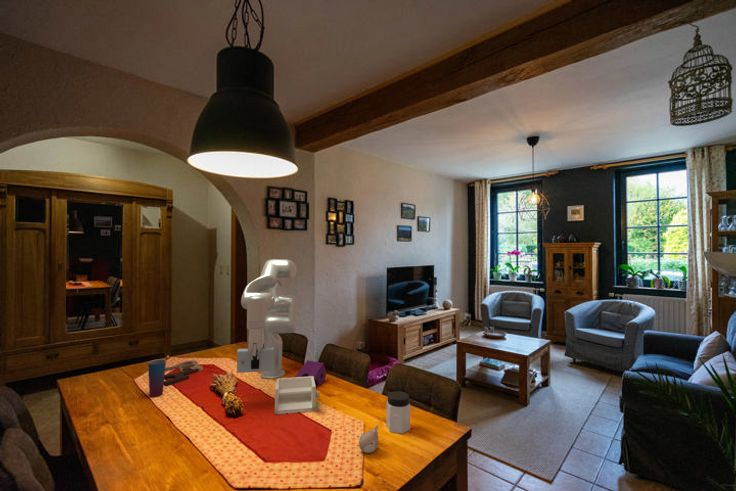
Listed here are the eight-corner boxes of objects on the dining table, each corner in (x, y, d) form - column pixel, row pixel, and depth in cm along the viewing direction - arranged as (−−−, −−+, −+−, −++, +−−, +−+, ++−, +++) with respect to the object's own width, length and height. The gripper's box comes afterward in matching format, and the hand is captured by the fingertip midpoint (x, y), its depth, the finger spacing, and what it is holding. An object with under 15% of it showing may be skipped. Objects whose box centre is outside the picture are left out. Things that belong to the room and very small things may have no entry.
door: (238, 370, 145) (238, 349, 145) (273, 367, 148) (273, 347, 148) (236, 373, 141) (236, 352, 141) (272, 371, 144) (273, 350, 144)
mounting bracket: (308, 405, 158) (327, 376, 173) (304, 391, 154) (323, 363, 170) (291, 401, 162) (311, 373, 177) (286, 387, 158) (307, 360, 174)
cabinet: (275, 401, 147) (276, 378, 147) (316, 398, 151) (317, 375, 151) (274, 416, 133) (275, 391, 134) (319, 412, 137) (320, 387, 138)
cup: (143, 396, 150) (144, 362, 150) (158, 391, 156) (159, 358, 157) (154, 399, 147) (155, 364, 148) (168, 393, 154) (169, 360, 154)
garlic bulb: (376, 457, 107) (377, 432, 108) (357, 455, 108) (357, 430, 109) (379, 446, 114) (379, 422, 114) (360, 444, 115) (361, 420, 115)
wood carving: (165, 387, 162) (214, 374, 180) (165, 383, 162) (215, 370, 180) (147, 373, 180) (193, 363, 198) (147, 369, 181) (193, 359, 198)
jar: (383, 431, 124) (384, 398, 124) (389, 420, 131) (389, 389, 132) (407, 435, 121) (408, 401, 121) (411, 424, 129) (412, 392, 129)
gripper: (249, 320, 152) (248, 361, 152) (244, 329, 136) (243, 374, 136) (266, 319, 154) (265, 360, 154) (263, 328, 138) (263, 373, 138)
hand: (255, 366), depth 145 cm, fingers closed on door, 3 cm apart
